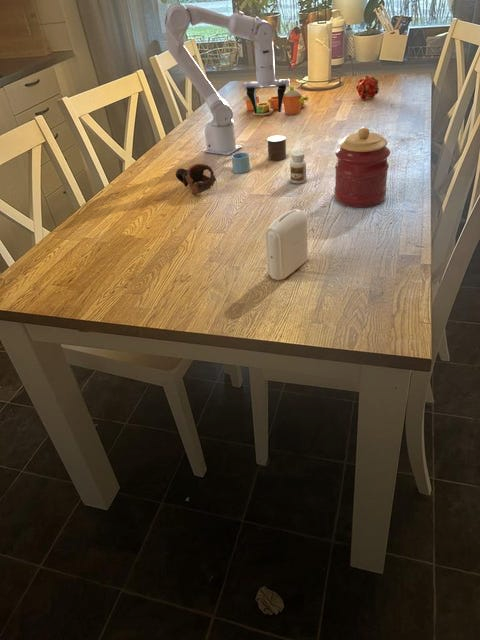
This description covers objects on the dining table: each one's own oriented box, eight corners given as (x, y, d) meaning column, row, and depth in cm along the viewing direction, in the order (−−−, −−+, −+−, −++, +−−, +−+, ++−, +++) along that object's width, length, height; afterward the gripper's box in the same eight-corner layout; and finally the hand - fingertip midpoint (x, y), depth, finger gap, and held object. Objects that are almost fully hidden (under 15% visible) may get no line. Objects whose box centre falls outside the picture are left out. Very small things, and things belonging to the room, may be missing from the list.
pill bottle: (288, 183, 139) (288, 156, 135) (292, 177, 142) (292, 150, 138) (304, 184, 138) (303, 156, 133) (307, 178, 141) (307, 151, 136)
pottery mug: (219, 183, 145) (220, 164, 138) (210, 208, 142) (211, 190, 134) (180, 173, 146) (178, 153, 138) (170, 198, 142) (168, 180, 134)
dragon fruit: (370, 97, 206) (366, 110, 199) (354, 85, 205) (349, 97, 197) (384, 80, 200) (380, 92, 192) (367, 67, 198) (362, 79, 191)
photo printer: (282, 283, 100) (279, 227, 92) (265, 276, 102) (261, 222, 95) (310, 260, 106) (310, 206, 98) (294, 255, 108) (292, 202, 101)
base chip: (265, 159, 156) (264, 153, 155) (274, 153, 159) (273, 147, 158) (280, 161, 153) (280, 155, 152) (289, 155, 157) (289, 149, 155)
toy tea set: (308, 103, 201) (308, 78, 195) (307, 115, 189) (306, 87, 183) (245, 107, 206) (243, 82, 200) (239, 118, 194) (237, 91, 188)
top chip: (264, 146, 153) (264, 140, 152) (273, 141, 157) (273, 134, 156) (280, 148, 151) (279, 142, 149) (289, 142, 154) (288, 136, 153)
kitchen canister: (355, 213, 121) (359, 140, 110) (324, 196, 131) (325, 127, 120) (396, 199, 125) (404, 127, 115) (363, 183, 135) (368, 116, 124)
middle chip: (264, 153, 155) (264, 146, 153) (273, 147, 158) (273, 141, 157) (280, 155, 152) (280, 148, 151) (289, 149, 155) (288, 142, 154)
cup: (230, 172, 150) (228, 157, 147) (239, 166, 153) (237, 151, 151) (244, 174, 148) (242, 159, 145) (253, 168, 151) (252, 153, 148)
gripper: (240, 70, 150) (244, 116, 159) (287, 66, 148) (289, 114, 156) (243, 65, 156) (247, 110, 164) (289, 61, 153) (291, 107, 162)
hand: (268, 111), depth 161 cm, fingers open, 7 cm apart
